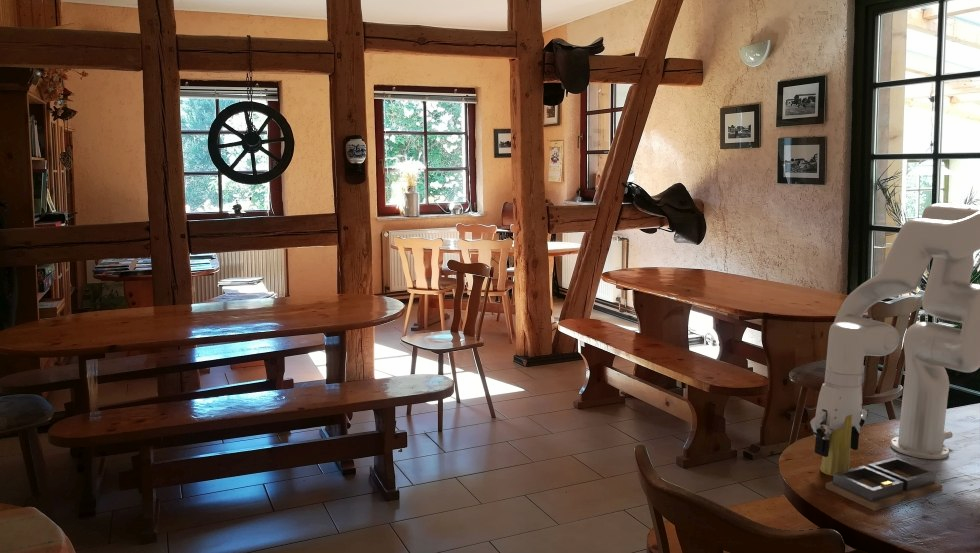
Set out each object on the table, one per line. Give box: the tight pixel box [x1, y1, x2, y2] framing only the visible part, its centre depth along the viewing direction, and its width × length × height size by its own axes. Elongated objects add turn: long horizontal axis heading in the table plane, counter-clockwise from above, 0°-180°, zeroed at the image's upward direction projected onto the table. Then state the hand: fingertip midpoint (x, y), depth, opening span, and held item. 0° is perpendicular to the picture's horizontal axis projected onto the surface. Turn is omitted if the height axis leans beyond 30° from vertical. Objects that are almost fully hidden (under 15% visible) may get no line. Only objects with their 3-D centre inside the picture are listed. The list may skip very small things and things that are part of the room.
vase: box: [819, 415, 853, 477], centre depth 182 cm, size 6×6×14 cm
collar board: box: [825, 470, 943, 512], centre depth 174 cm, size 22×12×1 cm, turn 118°
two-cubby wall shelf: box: [832, 456, 937, 502], centre depth 174 cm, size 21×10×3 cm, turn 118°
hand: (836, 451), depth 182 cm, fingers open, 9 cm apart
